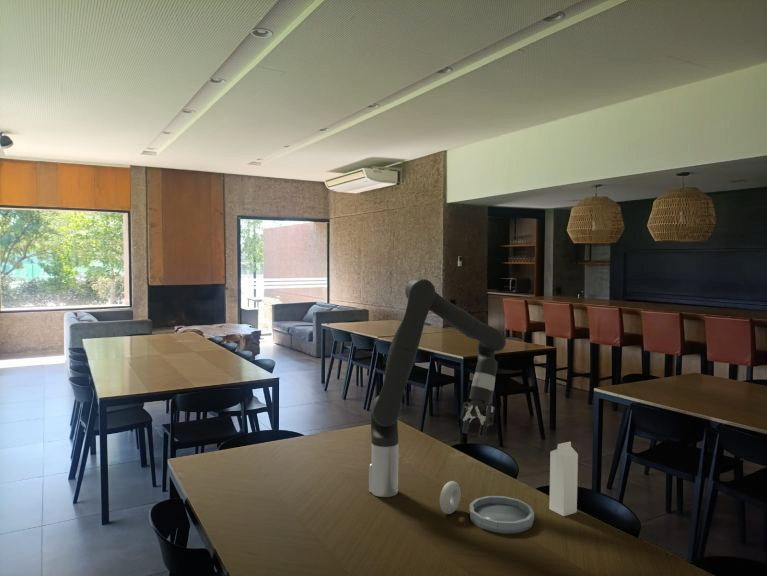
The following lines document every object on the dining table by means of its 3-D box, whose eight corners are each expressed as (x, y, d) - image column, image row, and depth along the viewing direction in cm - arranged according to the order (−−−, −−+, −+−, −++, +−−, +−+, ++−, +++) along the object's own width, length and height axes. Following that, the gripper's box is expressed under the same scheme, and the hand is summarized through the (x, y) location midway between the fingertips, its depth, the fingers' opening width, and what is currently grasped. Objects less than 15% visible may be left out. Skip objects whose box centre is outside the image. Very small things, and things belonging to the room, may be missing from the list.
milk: (576, 512, 177) (578, 444, 176) (563, 516, 174) (565, 447, 173) (562, 505, 182) (564, 438, 181) (548, 509, 179) (550, 441, 178)
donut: (446, 520, 171) (447, 488, 171) (437, 517, 173) (437, 485, 173) (462, 509, 179) (463, 478, 179) (453, 506, 181) (453, 475, 181)
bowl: (459, 522, 169) (459, 512, 169) (484, 500, 185) (484, 491, 185) (520, 539, 159) (520, 528, 159) (541, 515, 175) (541, 505, 175)
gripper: (461, 383, 196) (451, 429, 192) (488, 386, 184) (478, 435, 180) (477, 388, 199) (467, 434, 195) (504, 391, 187) (495, 440, 183)
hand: (472, 435), depth 188 cm, fingers open, 8 cm apart
